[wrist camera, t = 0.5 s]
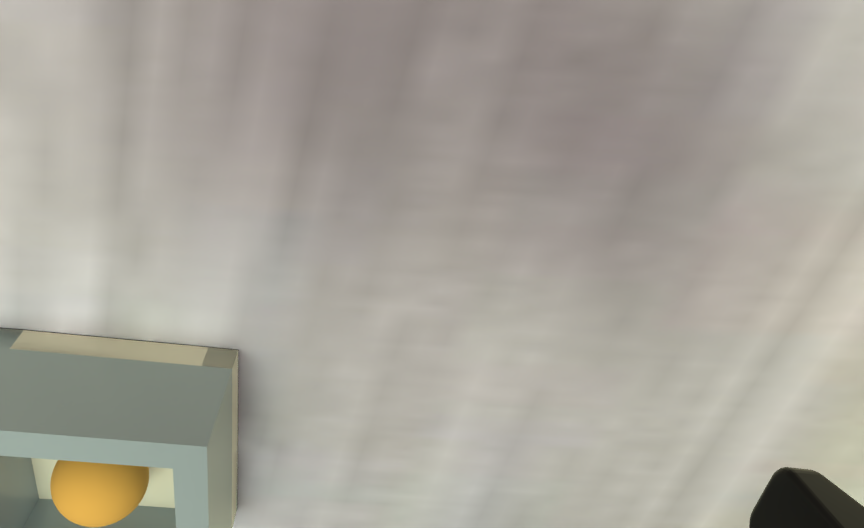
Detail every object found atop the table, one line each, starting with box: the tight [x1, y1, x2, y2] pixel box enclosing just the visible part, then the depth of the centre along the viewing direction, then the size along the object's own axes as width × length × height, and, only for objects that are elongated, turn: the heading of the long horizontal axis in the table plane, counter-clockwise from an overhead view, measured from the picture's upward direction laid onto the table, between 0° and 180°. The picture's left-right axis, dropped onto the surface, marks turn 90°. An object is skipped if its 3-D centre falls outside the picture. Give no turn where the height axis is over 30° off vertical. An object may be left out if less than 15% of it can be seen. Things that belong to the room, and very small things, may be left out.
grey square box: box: [0, 328, 238, 528], centre depth 24 cm, size 8×8×4 cm
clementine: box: [50, 460, 149, 527], centre depth 24 cm, size 3×3×3 cm
